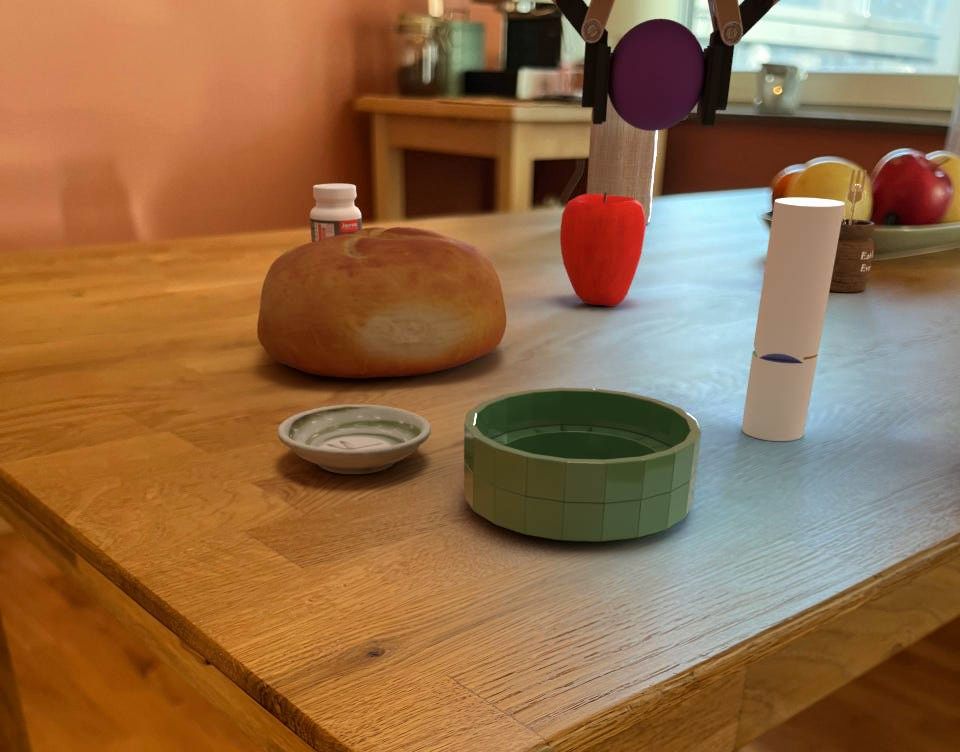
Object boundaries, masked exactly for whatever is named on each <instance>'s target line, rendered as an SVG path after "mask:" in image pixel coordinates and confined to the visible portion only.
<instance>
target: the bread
mask: <svg viewBox="0 0 960 752" xmlns="http://www.w3.org/2000/svg"><path fill="white" fill-rule="evenodd" d="M256 326H257V327H256V331H257V339H258V341H259V343H260V345H261V346H262V348H263V349H264V351H266V352H267V353H268V354H269V355H270V356H271V357H272V358H273V359H274V360H276V362H279V363H281V364H283V365H286V366H288V367H290V368H293V369H297V370H299V371H302V372H304V373H308V374H311V375H315V376H321V377H322V376H323V377H331V378H346V379H370V378H394V377H395V378H397V377H408V376H420V375H426V374H431V373H436V372H441V371H445V370H448V369H451V368H454V367H458V366H461V365H464V364H466V363H469V362H472V361H474V360H476V359H479V358H480V357H483V356H485V355H487V354H488V353H490V352H492V351H493V350H495V349H496V348H497V347H498V345H499V344H500V343H501V341H502V339H503V338H504V335H505V333H506V327H507V312H506V305H505V300H504V292H503V288H502V285H501V281H500V278H499V276H498V273H497V271H496V268H495V267H494V265H493V263H492V262H491V260H490V259H489V257H488V256H487V255H486V254H485V253H484V252H483V251H482V250H481V249H480V248H478V246H475V245H473V244H470V243H468V242H465V241H463V240H460V239H456V238H454V237H450V236H447V235H444V234H441V233H438V232H436V231H434V230H430V229H424V228H419V227H417V228H416V227H410V226H408V227H407V226H406V227H405V226H404V227H403V226H402V227H401V226H396V227H395V226H394V227H389V228H385V227H378V226H373V227H366V228H365V227H364V228H362V230H359V231H357V232H355V233H353V234H352V233H350V234H341V235H336V236H331V237H328V238H325V239H321V240H318V241H315V242H312V241H311V242H308V243H305V244H302V245H298V246H295V247H293V248H291V249H290V250H287V251H285V252H284V253H283V254H281V255H279V256H278V257H277V258H275V260H274V261H273V262H272V263H271V264H270V267H269V269H268V270H267V273H266V275H265V278H264V280H263V283H262V289H261V294H260V302H259V313H258V316H257V323H256Z"/></svg>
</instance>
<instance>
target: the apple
mask: <svg viewBox="0 0 960 752" xmlns="http://www.w3.org/2000/svg"><path fill="white" fill-rule="evenodd" d="M560 221H561V222H560V236H559V243H560V253H561V258H562V263H563V267H564V269H565V271H566V274H567V277H568V280H569V282H570V284H571V287H572V289H573V291H574V294H575V295H576V296H577V297H578V298H579V299H580V300H581V301H582V302H584V303H586V304H589V305H593V306H604V307H615V306H617V305H619V304H621V303H622V302H624V300H625V298H626V297H627V295H628V293H629V290H630V288H631V285H632V283H633V280H634V278H635V276H636V273H637V270H638V267H639V263H640V259H641V256H642V253H643V245H644V240H645V236H646V235H645V234H646V225H645V213H644V210H643V206H642V205H641V203H639V202H638V201H637V200H636V199H634V198H631V197H621V196H611V195H607V193H604V195H602V194H587V193H584V194H580V195H578V196H576V197H574V198H572V199H571V200H569V201H568V202H567V204H566V205H565V208H564V210H563V211H562V214H561V220H560Z"/></svg>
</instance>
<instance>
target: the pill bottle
mask: <svg viewBox="0 0 960 752" xmlns="http://www.w3.org/2000/svg"><path fill="white" fill-rule="evenodd" d="M312 193H313V195H312V196H313V198H314V200H315V206H314V207H312V208H311V210H310V213H309V225H310V238H311V242H315V241H318V240H321V239H325V238H328V237H331V236H336V235H341V234H350V233H352V234H353V233H355V232H357V231H359V230H362V229H363V222H362V221H363V218H362V212H361V211H360V209H359V207H358V206H356V205H355V200H356V198H357V196H358V195H357V186H356V185H355V184H351V183H322V184H315V185H313V186H312Z"/></svg>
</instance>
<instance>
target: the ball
mask: <svg viewBox="0 0 960 752" xmlns="http://www.w3.org/2000/svg"><path fill="white" fill-rule="evenodd" d="M703 51H704V49H703V46H702V45H701V43H700V41H699V39H698V38H697V36H696V35H695V33H693V32H692V31H691V30H690V29H689V28H688V27H686V25H684V24H682V23H680V22H679V21H675V20H672V19H669V18H653V19H648V20H645V21H643V22H640V23H638V24H636V25H634V26H632V28H630V29H629V30H628V31H627V32H626V33H624V35H623V36H621V38H620V39H619V41H618V42H617V43H616V44H615V46H614V49H613V50H612V51H611V53H612V55H611V58H610V72H609V86H608V95H609V98H610V101H611V103H612V105H613V107H614V109H615V111H616V112H617V114H618V115H619V116H620V117H621V118H622V119H623V120H624V121H625V122H627V123H628V124H630V125H631V126H633V127H635V128H638V129H641V130H646V131H658V132H659V131H664V130H666V129H669V128H672V127H674V126H675V125H677V124H679V123H681V122H682V121H683V120H684V119H685V118H687V117H688V116H689V115H690V113H691V112H692V111H693V110H694V108H696V107H697V106H696V105H698V100H699V99H700V96H701V94H702V91H703V87H704V82H705V73H706V62H705V56H704V53H703Z"/></svg>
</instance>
